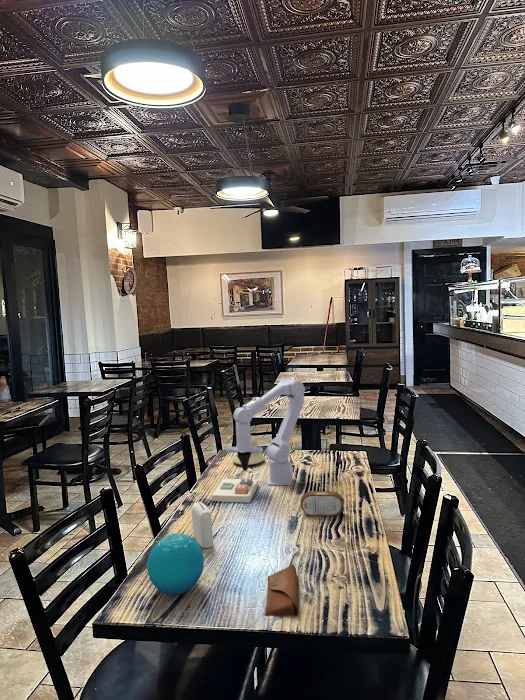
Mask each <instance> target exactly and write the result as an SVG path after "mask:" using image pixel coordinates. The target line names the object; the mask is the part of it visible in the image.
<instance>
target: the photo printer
mask: <svg viewBox="0 0 525 700" xmlns="http://www.w3.org/2000/svg"><path fill="white" fill-rule="evenodd" d="M191 518H192V531H193V533H192V535H193V537H194V538H193V539H194V540H196V541H197V543H198V544H199V546H200V548H201V549H202V548H203V549H208V548H211V547H212V546H213V545H214V537H213V536H214V535H213V524H212V523H213V522H212V521H213V520H212V514H211V511H210V510H209V508H208V506H207V505H206V504H205V503H203V502H201V501H198V502H194V503H193V504H192V506H191Z"/></svg>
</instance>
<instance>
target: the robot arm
mask: <svg viewBox="0 0 525 700" xmlns="http://www.w3.org/2000/svg"><path fill="white" fill-rule="evenodd" d="M305 392H306V388H305V386H304V384H303V382H302V381H300V380H296V379H292V378H289V377H286V378H284V379H283V380H281V381H279V382H278V383H277V385H275V386H274V387H273V388H272V389H270V390H269V391H267V392H266V393H265V394H263V395H262V396H261V397H258V396H254V397H252V398H251V400H250V401H249V402H248V403H246V404H243V405H242V406H241V407H240V406H239V407H237V408H236V409H235V410H234V412H233V414H232V418H233V419H234V421H235V435H236V436H235V437H236V446H227V447H226V454H231V453H233V454H234V453H236V454H237V453H238V455H237V457H238V458H239V460H240V462H241V464H240V465H241V468H242V470H243V471H244V472H245V471H247V470H248V467H249V465H248V463H249V459H250V456H251V454H252V453H261V454H263V447H261V446H260V447H259V446H257V447H253V446H251V421H252V419H253V417H254V416H256V415H257V414H259V413H260V412H262V411H263V410H265V408H266V405H267V404H269V403H270V402H271V401H273V400H274V399H277V398H278V397H280V396H286V397H287V399H288V401H289V405H288V407H287V409H286V411H285V414H284V417H283V420H282V421H281V424H280V426H279V429H278V432H277V434H276V436H275V437H274V438H273V439H271V442H270V443H269V444H268V445H267V447H266V448H265V449H266V450H265V454H266V456H267V457H268V465H269V466H268V467H269V480H268V482H267V485H268V486H291V485H292V481H293V466H292V461H289V456H290V454H289V453H290V452H289V451H290V450H291V449H290V448H291V446H290V443H289V442H290V438H291V436H292V434H293V431H294V428H295V426H296V424H297V421H298V419H299V416H300V415H301V414H300V413H301V411H302V408H303V406H304V403H305Z"/></svg>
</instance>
